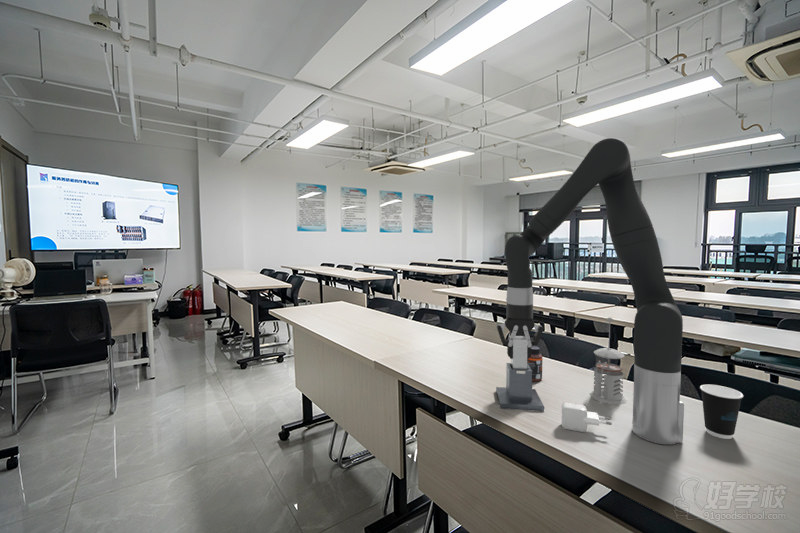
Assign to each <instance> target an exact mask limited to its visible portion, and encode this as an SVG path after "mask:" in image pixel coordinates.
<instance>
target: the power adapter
mask: <svg viewBox="0 0 800 533" xmlns="http://www.w3.org/2000/svg"><path fill="white" fill-rule="evenodd" d="M600 424H603V425H609V426H612V424H613V422H611V418H610V417H608V416H602V415H599V414H598V412H594V411H588V409H587V406H585V405H583V404H577V403H572V402H571V403H570V402H562V404H561V426H562V428H563V429H564V430H569V431H573V432H582V433H585V432H587V430H588V425H592V426H597V427H599V426H600Z"/></svg>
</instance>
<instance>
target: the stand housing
mask: <svg viewBox="0 0 800 533" xmlns="http://www.w3.org/2000/svg"><path fill="white" fill-rule="evenodd" d="M505 371H506V376H505V377H506V378H505V379H506V380H505V381H506V384H505V385H506V386H505V387H504V386H503V387H499V386H496V387H495V392H496V396H497V400H498V404H499V407H500V409H501V410H516V411H517V410H520V411H533V412H545V406H544V403H543V402H542V400H541V398H540V396H539V394H538V392H537V390H536V389H535V388H533V381H532V370H531V368H530V367H529V365H528V364H527V370H516V369H511V362H506V369H505Z"/></svg>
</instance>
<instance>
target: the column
mask: <svg viewBox="0 0 800 533" xmlns="http://www.w3.org/2000/svg"><path fill="white" fill-rule="evenodd" d="M512 347H513V359H510V363H511V369H516V370H527V339H525V337H524V336H515V339H513V345H512Z"/></svg>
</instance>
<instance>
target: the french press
mask: <svg viewBox="0 0 800 533" xmlns="http://www.w3.org/2000/svg"><path fill="white" fill-rule="evenodd" d="M605 321H606V322H608V324H609V327H608V329H609V330H608V347H603V348H597V349H596V350H594V351H593V353H594V355H595V356H596V357H600V358H602V359H607V360H608V363H607V361H604V362H601V361H602V360H598V362H597V363H595V367H594V369H593V391H591V392H590V394H589V396H590V398H592V399H594V400H596V401H598V402H601V403H603V404H609V405H623V404H626V403H627V399H626V398H625V397H624V394H623V393H624V390H623V388H624V381H623V380H624V373H623V368H622V367H621V366H620V365H618V364H614V363H610V360H621V359H623V358H625V354H624V353H622V352H621V351H619V350H617V349H615V348H610V344H611V343H610V342H611V341H610V340H611V323H613V322H614V318H612V317H607V318H606V320H605Z"/></svg>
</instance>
